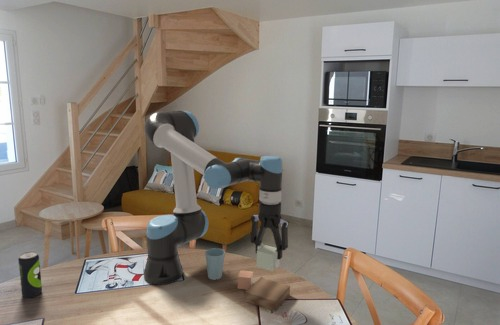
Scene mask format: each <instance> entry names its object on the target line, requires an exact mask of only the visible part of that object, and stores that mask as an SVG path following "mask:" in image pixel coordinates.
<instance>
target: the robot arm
mask: <svg viewBox="0 0 500 325" xmlns="http://www.w3.org/2000/svg"><path fill="white" fill-rule="evenodd" d="M143 127H144V128H143V129H144V135H145V136H146V139H147V140H148V141H149V142H150V143H152V144H153V145H155V146H156V147H157V148H160V149H162V148H163V149H165V150H166V151H167V152H169V153H170V159H171V170H172V179H173V188H174V197H175V207H174V209H173V211H172V213H173V214H164V215H158V216H155V217H153V218H151V219H150V220H149V221H148V223H147V226H146V239H147V240H146V241H147V260H146V261H145V262H146V263H145V266H144V269H143V278H144V281H145V282H147V283H150V284H153V285H167V284H171V283H175V282H176V281H178V280H180V279H181V278H182V277H183V273H184V272H183V265H182V264H181V260H180V257H179V247H180V246H183V245H185V244H187V243H190V242H193V241H196V240H198V239H200V238H201V237H203V236H204V235H205V234H206V233H207V231H208V229H209V218H208V216H207V215H206V212H205V211H204V210H202V207H201V206H200V205H199V204H198V200H197V192H196V189H197V188H196V182H195V171H197V172H198V173H199V174H201V175H203V178H204V181H205V183H206V184H207V187H209V188H210V189H213V190H216V189H217V190H218V189H224V188H226V187H229V186H234V185H237V184H240V183H244V182H253V183H258V184H259V194H258V196H259V198H258V199H259V202H258V214H253V215H251V217H250V219H251V231H250V242H251V243H252V244H254V245H255V254H256V255H257V250H259V249H260V248H262V247H263V246H264V243H263V238H264V236H265V232H266V229H270V230H271V233H272V236H273V239H274V242H275V246H276V247H275V248H277V249H276V250H275V263H274V268H275V269H276V270H277V269H278V268H279V267H280V265H281V264H280V263H281V259H282V258H283V251H286V250H287V249H288V248H289V238H288V237H289V234H288V232H289V231H288V227H289V224H290V222H289V220H285V219H283V218H282V216H281V214H282V188H283V186H282V184H283V180H282V179H283V172H284V169H283V159H282V158H281V157H280V156H277V155H264V156H261V157H260V160H258V159H257V160H256V159H252V158H251V159H250V158H246V157H235V158H234V159H233V160H232V161H231V162H225V161H223V160H221V159H220V158H218V157H217V156H216V155H213V154H212V153H210V152H209V151H208V150H206V149H204V148H203V147H201V146H200V145H198V144H196V143H195V138H196V137H197V136H198V134H199V132H200V125H199V121H198V118H197V117H196V116H195V115H194V114H193V113H192V112H190V111H188V110H166V111H155V112H154V113H152V114H150V115H149V116H148V117H147V119H146V120H145V122H144V126H143ZM259 221H260V227H259ZM279 225H280V227H281V230H280V227H279ZM258 230H259V231H258ZM275 269H274V270H275Z"/></svg>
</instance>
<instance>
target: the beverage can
mask: <svg viewBox="0 0 500 325" xmlns="http://www.w3.org/2000/svg"><path fill="white" fill-rule="evenodd" d="M18 268H19V269H18V270H19V278H20V279H19V280H20V289H21V295H22V296H23V297H24V298H26V299H28V298H35V297H37V296H39V295H40V294H41V293H42V291H43V287H42V286H43V284H42V275H41V274H42V272H41V263H40V255H39V253H38V252H37V251H35V250H33V251H26V252H23V253H21V254H19V255H18Z"/></svg>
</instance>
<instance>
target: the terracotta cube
mask: <svg viewBox="0 0 500 325" xmlns="http://www.w3.org/2000/svg"><path fill="white" fill-rule="evenodd" d="M253 284H254V271H251V270H250V271H249V270H248V271H247V270H241V269H240V271H239V273H238V275H237V289H238V290H245V291H246V290H247V289H249V288H250V287H251V286H252V285H253Z"/></svg>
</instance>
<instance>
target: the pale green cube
mask: <svg viewBox="0 0 500 325" xmlns="http://www.w3.org/2000/svg"><path fill="white" fill-rule="evenodd" d="M276 249H277V248H276V247H274V246H269V245H266V244H263V247H262V248H260V249H259V250H257V254H256V268H259V269H263V270H267V271H270V272H273V271H275V268H274V263H275V250H276Z"/></svg>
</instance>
